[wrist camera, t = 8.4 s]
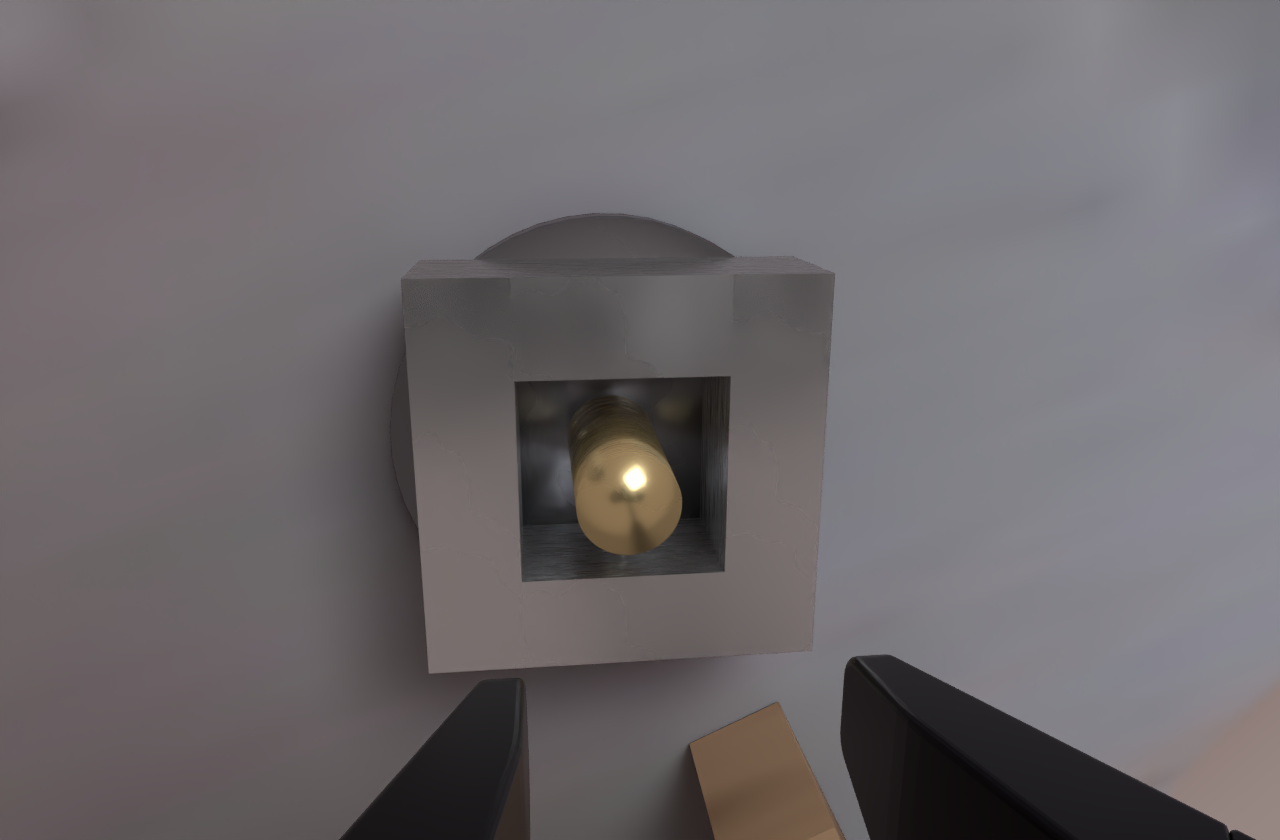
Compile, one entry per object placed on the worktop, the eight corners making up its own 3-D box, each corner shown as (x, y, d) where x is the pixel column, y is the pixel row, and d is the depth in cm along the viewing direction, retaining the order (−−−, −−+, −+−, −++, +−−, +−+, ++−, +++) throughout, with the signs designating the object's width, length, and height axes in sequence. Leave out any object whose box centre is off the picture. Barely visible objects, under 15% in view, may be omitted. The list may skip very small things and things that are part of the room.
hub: (857, 498, 19) (955, 602, 15) (517, 661, 20) (513, 813, 15) (706, 139, 17) (769, 135, 13) (320, 328, 17) (245, 391, 13)
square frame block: (776, 589, 18) (812, 651, 16) (441, 605, 18) (428, 673, 15) (793, 256, 17) (835, 273, 14) (419, 260, 16) (400, 279, 14)
